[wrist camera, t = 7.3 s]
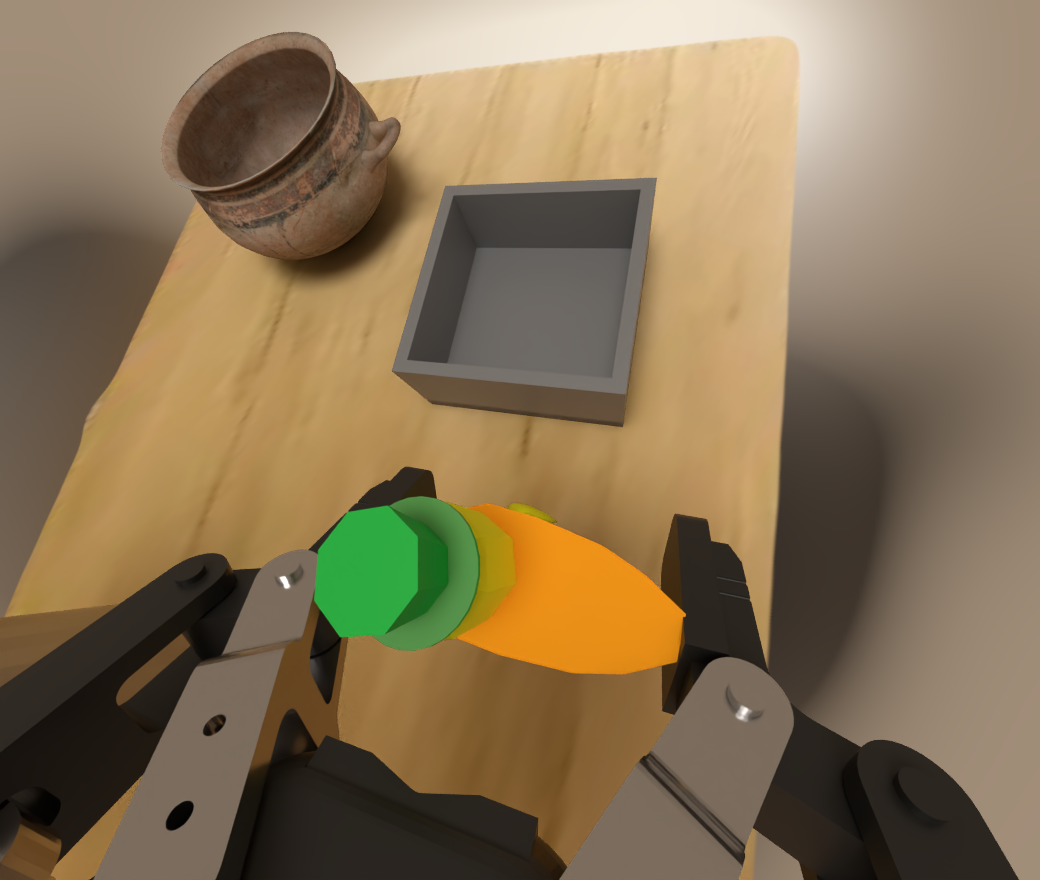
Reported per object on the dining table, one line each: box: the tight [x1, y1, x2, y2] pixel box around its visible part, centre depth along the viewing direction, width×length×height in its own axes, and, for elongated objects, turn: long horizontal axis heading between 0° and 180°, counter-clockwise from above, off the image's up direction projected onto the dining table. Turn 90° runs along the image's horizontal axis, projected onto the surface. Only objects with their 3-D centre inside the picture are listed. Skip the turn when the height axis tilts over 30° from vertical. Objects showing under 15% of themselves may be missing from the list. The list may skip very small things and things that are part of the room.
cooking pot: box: [161, 32, 401, 260], centre depth 39 cm, size 25×19×12 cm
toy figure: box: [314, 496, 686, 674], centre depth 10 cm, size 7×4×12 cm, turn 73°
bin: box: [392, 178, 657, 427], centre depth 32 cm, size 17×17×7 cm
